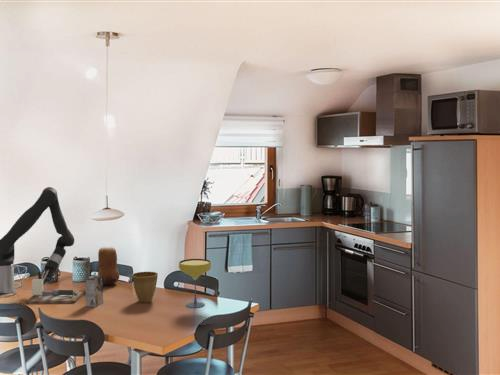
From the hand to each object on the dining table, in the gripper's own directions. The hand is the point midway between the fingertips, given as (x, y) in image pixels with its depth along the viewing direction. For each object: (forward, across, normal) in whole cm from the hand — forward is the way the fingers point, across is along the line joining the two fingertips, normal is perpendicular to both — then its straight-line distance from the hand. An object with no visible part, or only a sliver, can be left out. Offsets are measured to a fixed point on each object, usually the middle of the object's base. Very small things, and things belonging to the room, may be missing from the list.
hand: (39, 287), depth 327 cm
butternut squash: (-24, +19, +34) cm, 45 cm away
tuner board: (+4, +11, +6) cm, 13 cm away
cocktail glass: (-10, +94, +20) cm, 97 cm away
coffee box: (+4, +40, +5) cm, 40 cm away
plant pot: (-8, +63, +17) cm, 66 cm away
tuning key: (+2, +9, +3) cm, 10 cm away
